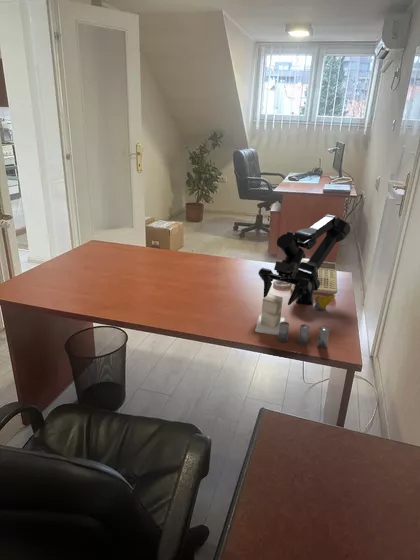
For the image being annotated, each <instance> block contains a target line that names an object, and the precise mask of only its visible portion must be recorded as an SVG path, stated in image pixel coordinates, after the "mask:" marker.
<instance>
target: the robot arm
mask: <svg viewBox="0 0 420 560" xmlns="http://www.w3.org/2000/svg"><path fill="white" fill-rule="evenodd" d="M349 233H351V226H350V225H349V222H346V221H345V220H343V219H342V218H340V217H339V216H337V215H334V214H329V213H327V214H325V215H324V216H323V218H321V219H320V220H318V221H317V222H315V223H314V224H313V225H311V226H310V227H307V228H301V229H298V230H296V232H295V233H294V232H292V231H287V232H286V233H284V234H282V235H281V236H279V237H278V238H277V241H276V245H277V247H278V248H279V249H280V251H281V252H282V254H283V255H284V256H285V257H284V259H282V261H278V260H275V265H274V269H273V270H274V271H275V272H276V273H273V271H272V269H269V268H264V267H261V268H260V269H259V270H258V273H257V274H258V276H259V277H260V279H261V280H262V281H263V285H264V286H263V298H264V297H266V296H267V295H269V292H270V290H271V288H272V285H273V283H272V282H273V281H279V282H282V283H286V284H291V285H293V286H294V288H293V291H292V293H291V295H290V297H289V299H288V302H287V305H288V306H290V305H292V303H294V301H295V302H296V303H297V304H303V305H304V304H305V305H314V291H318V290H319V289H320V286H321V282H320V281H319V269H320V267H321V266H322V265H323V263H324V261H325V260H326V259H327V257H328V256H329V254H330V253H331V251H332V250H333V248H334V246H335V245H336V244H337V243H338V242H341V241H342V240H345V238H346V237H347V236H348V235H349ZM324 234H326V235H325V236H324V238H323V239H322V241H321V242H320V244H319V245H318V247H317V248H316V249H315V251H314V252H313V253H312V255H311V257H310V258H309V259H308V261H307V262H304V261H302V260H303V259H306V253H305V250H303V249H306V250H311V249H313V247H314V246H315V245H316V244H317V239H318V238H320V237H321V236H323V235H324Z"/></svg>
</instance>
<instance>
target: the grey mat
mask: <svg viewBox="0 0 420 560" xmlns="http://www.w3.org/2000/svg"><path fill="white" fill-rule="evenodd" d="M261 315H262V313H261V314H259V315H258V316H259V317H258V320H257V323H256V326H255V331H254V332H255V333H260V334H261V333H262V334H267V335H274V336H279V326H280V324H279V325H278V326H276V327H275V328H274V329H272V328H269V327H266V326H263V325H261ZM285 319H286V318H285V317H284V316H283V317H282V316H281V319H280V322H285V321H286V320H285Z"/></svg>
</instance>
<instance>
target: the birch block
mask: <svg viewBox="0 0 420 560" xmlns="http://www.w3.org/2000/svg"><path fill="white" fill-rule="evenodd" d="M282 308H283V296H279V295H276V294H273V293H268V294H267V296H266V297H263V298H262V303H261V325H263V326H266V327H269V328H272V329H274V328H275V327H276V326H278V325H279V324H280V319H281V317H282Z"/></svg>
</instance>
